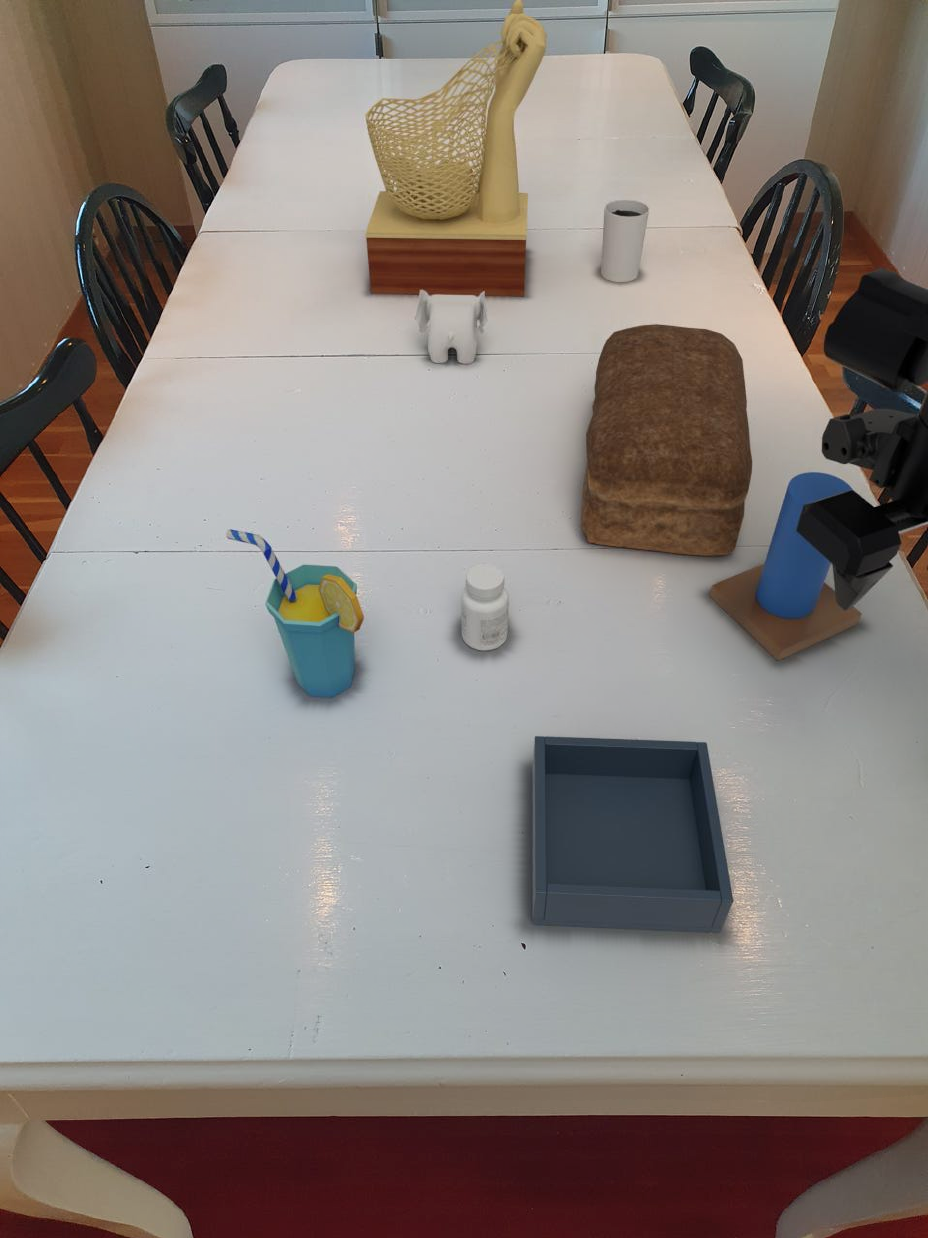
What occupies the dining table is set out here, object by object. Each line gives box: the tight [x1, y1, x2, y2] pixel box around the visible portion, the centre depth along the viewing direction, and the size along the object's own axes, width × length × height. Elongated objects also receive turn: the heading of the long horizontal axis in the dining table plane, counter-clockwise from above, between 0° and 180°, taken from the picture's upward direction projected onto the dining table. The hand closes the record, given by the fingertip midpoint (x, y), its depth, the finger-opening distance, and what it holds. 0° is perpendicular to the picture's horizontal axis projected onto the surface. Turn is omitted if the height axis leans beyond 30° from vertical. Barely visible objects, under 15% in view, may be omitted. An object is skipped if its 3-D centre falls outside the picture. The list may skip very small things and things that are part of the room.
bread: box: [580, 323, 753, 557], centre depth 100 cm, size 17×30×13 cm, turn 170°
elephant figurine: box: [414, 290, 489, 365], centre depth 122 cm, size 10×12×9 cm
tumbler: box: [756, 471, 854, 619], centre depth 83 cm, size 6×6×13 cm
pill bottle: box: [460, 563, 510, 651], centre depth 84 cm, size 4×4×8 cm
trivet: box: [709, 563, 863, 662], centre depth 88 cm, size 10×10×2 cm
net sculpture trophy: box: [364, 0, 548, 297], centre depth 130 cm, size 25×18×35 cm
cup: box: [225, 528, 365, 699], centre depth 78 cm, size 14×8×15 cm, turn 62°
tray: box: [531, 735, 734, 934], centre depth 69 cm, size 14×14×5 cm
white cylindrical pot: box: [600, 199, 650, 283], centre depth 138 cm, size 7×7×10 cm
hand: (888, 589), depth 72 cm, fingers open, 9 cm apart
